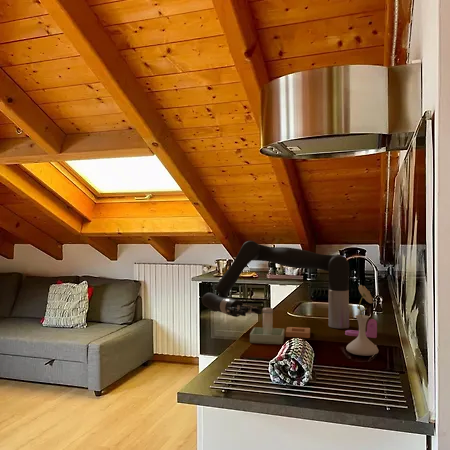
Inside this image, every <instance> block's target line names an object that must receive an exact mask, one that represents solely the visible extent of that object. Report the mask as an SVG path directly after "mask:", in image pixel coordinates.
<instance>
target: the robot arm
mask: <svg viewBox="0 0 450 450" xmlns="http://www.w3.org/2000/svg"><path fill="white" fill-rule="evenodd" d="M251 261H257V262H270V263H272V264H277V265H280V266H283V267H284V266H285V267H289V268H294V269H303V270H304V269H306V270H308V269H309V270H311V269H313V270H320V271H324V272H328V302H327V303H328V310H327V311H328V312H327V313H328V318H327V319H328V327H329V328H333V329H349V328H350V307H349V306H350V304H349V301H350V299H349V298H350V296H349V295H350V293H349V292H350V262H349V261H348V259H347V258H346V257H345V256H343V255H339V254H336V255H335V254H321V253H318V252H317V253H316V252H313V251H310V250H305V249H302V248H297V247H296V248H295V247H289V246H288V247H287V246H286V247H285V246H284V247H283V246H281V247H280V246H278V247H277V246H276V247H275V246H274V247H273V246H268V245H264V244H261V243H257V242H255V241H254V240H247V241H245V242H244V243H243V244H242V246H241V248H240V249H239V251H238V253H237V255H236V257H235V259H234V260H233V262H232V263H231V265H230V266H229V268H228V269H227V270H226V271H225V272H224V273H223V275H222V276H221V278H220V279H219V281H218V282H217V283H216V285H215V288H214V289H215V290H216V291H217V292H218V294H216V293H213V292H206V293H205V294H203V295H202V297H201V304H202V305H203V306H204V307H205V308H207V309H208V310H211V311H212V312H215V313H216V312H218V313H222V314H225V315H228V316H231V317H235V318H237V317H240V316H242V317H246V315H251V314H257V315H263V309H261V308H260V306H257V305H253V304H249V305H247V304H244V303H243V302H242V301H241V300H239V299H236V298H235V299H234V298H229V297H227V296H228V294H229V293H230V291H231V290H232V288H233V287H234V286H235V284H236V283H237V281H238V280H239V278H240V276H241V274H242V273H243V271H244V270H245V268H246V267H247V266H248V265H249V264H250V263H251Z"/></svg>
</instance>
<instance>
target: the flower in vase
mask: <svg viewBox="0 0 450 450" xmlns="http://www.w3.org/2000/svg"><path fill="white" fill-rule="evenodd" d="M358 291H359V293H360V295H361V298H360V300H359V303H358V304H357V305H356V308H357V309H358V310H359V312H360V314H356V315H355V316H354V317H355V318H356V319H357V323H358V331H359V335H358V336H356V338H355V339H353V340H351V341H350V342H349V343H348V344H347V345H346V347H345V348H346V349H345V350H346V351H347V352H348V353H350V354H352V355H356V356H363V357H364V356H367V357H368V356H374V355H377V354H378V353H379V348H378V346H376V344H375V343H373V342H372V340H370V339H369V337H366V333H365V331H366V329H367V323H368V321H369V318H370V316H369V315H365V314H362V312H364V311H366V310H367V309H368V308H367V307H365V308H364V309H362V310H361V304H362V300H363V299H364V300H365V301H366V302H367V303H369V304H373V303H374V301H373V300H374V297H373V296H372V294H371V291H370V290H368V288H366V286H365V285H362V284H360V285H358Z"/></svg>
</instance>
